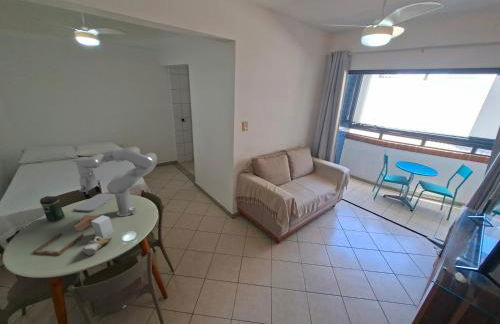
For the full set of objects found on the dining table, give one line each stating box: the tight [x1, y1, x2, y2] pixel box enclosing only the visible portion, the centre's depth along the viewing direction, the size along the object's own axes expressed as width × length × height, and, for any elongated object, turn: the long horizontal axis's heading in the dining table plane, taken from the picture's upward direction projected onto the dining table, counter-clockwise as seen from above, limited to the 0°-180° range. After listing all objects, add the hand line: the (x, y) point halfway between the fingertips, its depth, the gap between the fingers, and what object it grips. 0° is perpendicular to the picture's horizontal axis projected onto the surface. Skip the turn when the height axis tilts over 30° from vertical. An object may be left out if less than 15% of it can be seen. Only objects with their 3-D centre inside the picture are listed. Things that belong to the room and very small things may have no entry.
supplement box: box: [91, 215, 114, 240], centre depth 127 cm, size 7×7×13 cm
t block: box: [73, 214, 99, 232], centre depth 137 cm, size 10×12×4 cm
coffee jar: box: [39, 195, 65, 222], centre depth 141 cm, size 10×8×19 cm
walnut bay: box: [32, 232, 85, 256], centre depth 120 cm, size 16×16×2 cm
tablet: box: [74, 193, 115, 213], centre depth 165 cm, size 16×26×2 cm, turn 176°
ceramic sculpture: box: [82, 236, 113, 256], centre depth 117 cm, size 11×9×15 cm
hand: (93, 195), depth 143 cm, fingers open, 9 cm apart
